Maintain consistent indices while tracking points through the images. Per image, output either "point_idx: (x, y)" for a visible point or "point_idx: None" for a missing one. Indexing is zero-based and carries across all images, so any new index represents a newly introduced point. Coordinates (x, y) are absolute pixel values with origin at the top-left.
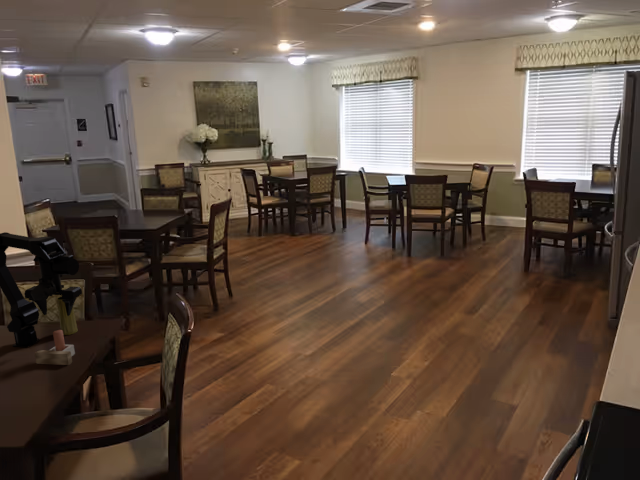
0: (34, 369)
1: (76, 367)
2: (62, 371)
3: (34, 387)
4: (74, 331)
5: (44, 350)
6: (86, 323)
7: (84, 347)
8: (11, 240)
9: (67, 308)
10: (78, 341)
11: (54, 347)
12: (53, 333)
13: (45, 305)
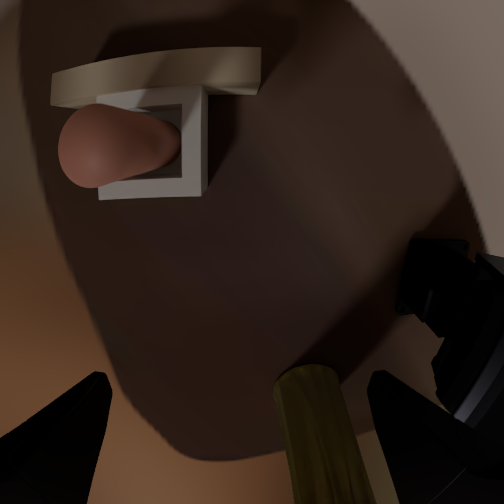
0: (224, 16)
1: (44, 78)
2: (80, 33)
3: None
4: (277, 388)
5: (213, 80)
6: (279, 438)
7: (125, 262)
8: None
9: (37, 420)
10: (201, 318)
11: (191, 147)
12: (111, 107)
13: (398, 465)
